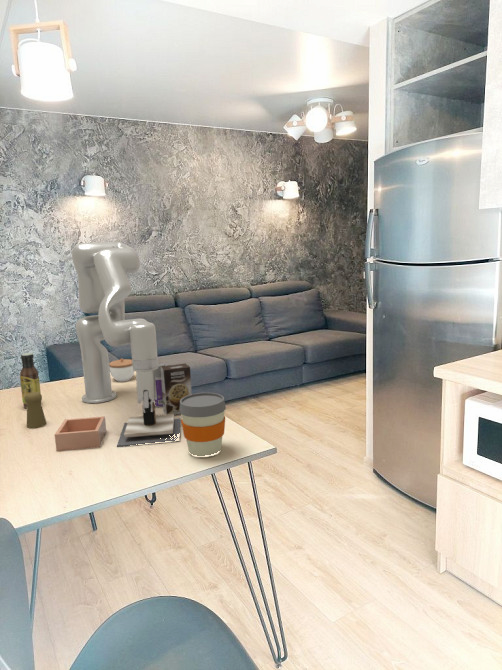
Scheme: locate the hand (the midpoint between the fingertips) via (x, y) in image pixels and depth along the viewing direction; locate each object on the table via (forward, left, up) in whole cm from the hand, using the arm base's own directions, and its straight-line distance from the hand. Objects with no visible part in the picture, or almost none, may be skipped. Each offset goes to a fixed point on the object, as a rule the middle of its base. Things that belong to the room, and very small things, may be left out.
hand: (149, 421), depth 150 cm
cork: (-15, -38, -4) cm, 41 cm away
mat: (0, 0, -4) cm, 4 cm away
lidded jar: (-63, -16, -4) cm, 65 cm away
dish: (+2, -20, -4) cm, 20 cm away
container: (-25, +2, -4) cm, 25 cm away
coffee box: (-17, +8, -4) cm, 19 cm away
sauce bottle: (-35, -45, -4) cm, 57 cm away
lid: (0, 0, -2) cm, 2 cm away
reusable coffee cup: (+17, +16, -4) cm, 24 cm away
